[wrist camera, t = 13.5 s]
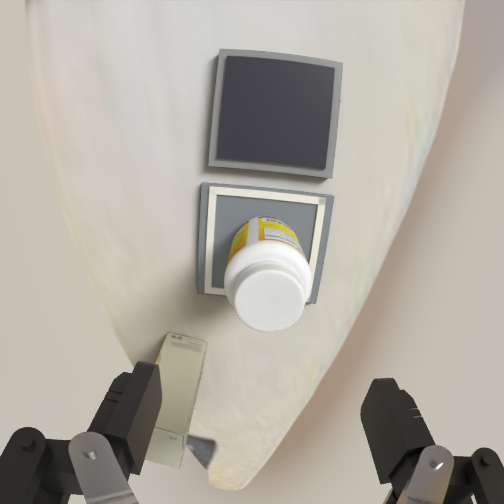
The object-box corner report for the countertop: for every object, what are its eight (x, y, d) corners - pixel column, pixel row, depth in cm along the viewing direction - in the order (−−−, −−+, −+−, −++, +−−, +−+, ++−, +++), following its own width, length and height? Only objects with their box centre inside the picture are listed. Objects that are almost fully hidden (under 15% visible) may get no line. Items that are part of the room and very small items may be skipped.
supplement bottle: (242, 282, 28) (234, 352, 18) (224, 223, 26) (205, 270, 16) (303, 267, 27) (326, 332, 18) (290, 206, 26) (309, 244, 16)
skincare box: (167, 330, 30) (129, 417, 19) (208, 340, 31) (186, 433, 19) (163, 374, 33) (132, 458, 21) (199, 383, 33) (180, 471, 21)
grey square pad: (198, 290, 29) (196, 294, 28) (203, 182, 26) (201, 183, 25) (314, 300, 29) (316, 304, 28) (332, 195, 26) (334, 196, 25)
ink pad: (210, 165, 25) (207, 166, 24) (221, 52, 22) (219, 47, 21) (329, 177, 25) (332, 178, 24) (339, 65, 22) (343, 62, 21)
